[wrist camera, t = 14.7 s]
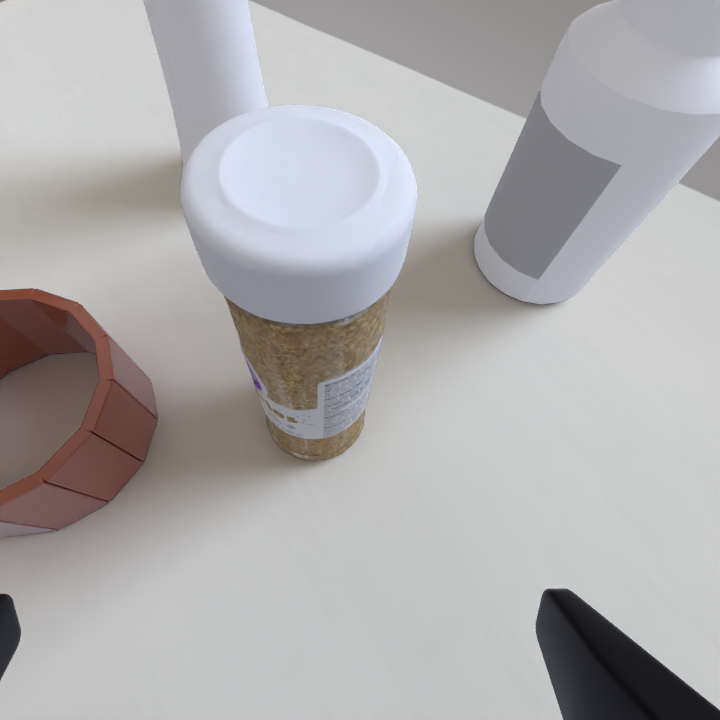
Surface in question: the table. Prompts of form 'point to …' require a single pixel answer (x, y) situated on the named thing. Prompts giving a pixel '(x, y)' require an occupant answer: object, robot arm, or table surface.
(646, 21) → the spray bottle
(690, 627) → the table surface
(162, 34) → the cosmetic bottle
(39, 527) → the cup
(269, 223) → the sprinkles bottle
